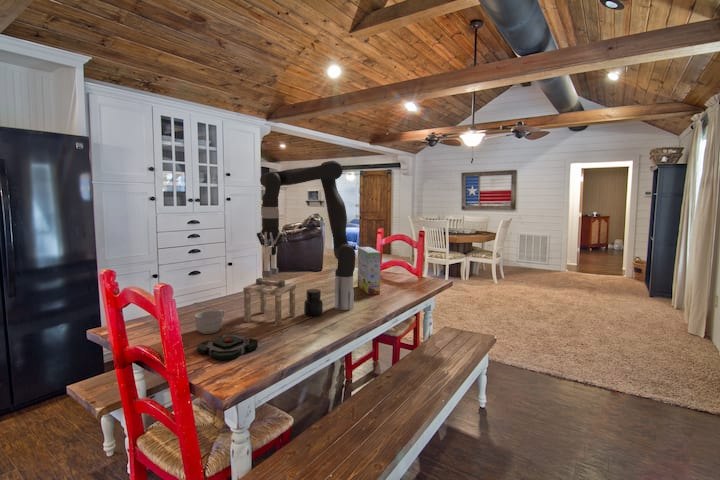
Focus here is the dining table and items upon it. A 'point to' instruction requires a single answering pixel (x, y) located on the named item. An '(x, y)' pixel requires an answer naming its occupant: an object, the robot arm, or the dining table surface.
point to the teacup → (209, 321)
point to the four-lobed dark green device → (227, 346)
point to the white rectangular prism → (267, 270)
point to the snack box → (369, 270)
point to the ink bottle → (313, 303)
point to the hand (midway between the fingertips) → (270, 254)
